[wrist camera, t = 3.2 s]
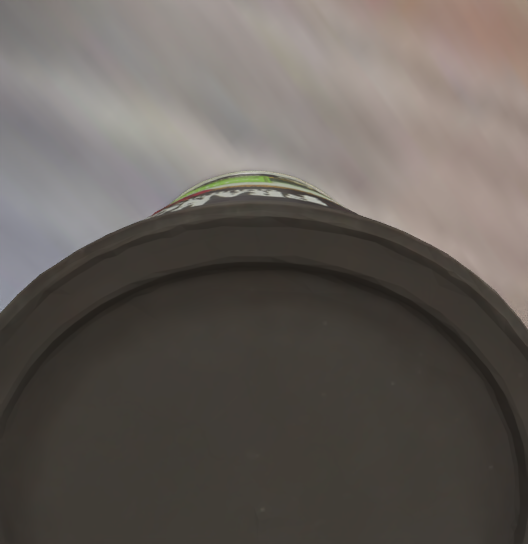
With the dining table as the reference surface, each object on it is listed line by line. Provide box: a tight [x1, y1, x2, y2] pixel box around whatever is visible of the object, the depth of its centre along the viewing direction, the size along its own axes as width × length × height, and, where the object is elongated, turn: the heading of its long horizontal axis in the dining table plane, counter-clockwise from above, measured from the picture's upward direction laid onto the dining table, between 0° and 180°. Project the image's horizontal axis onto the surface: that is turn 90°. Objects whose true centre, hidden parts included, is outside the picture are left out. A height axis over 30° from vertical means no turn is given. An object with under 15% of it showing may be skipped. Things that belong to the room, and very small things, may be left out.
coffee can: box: [0, 171, 528, 544], centre depth 15 cm, size 10×10×14 cm
